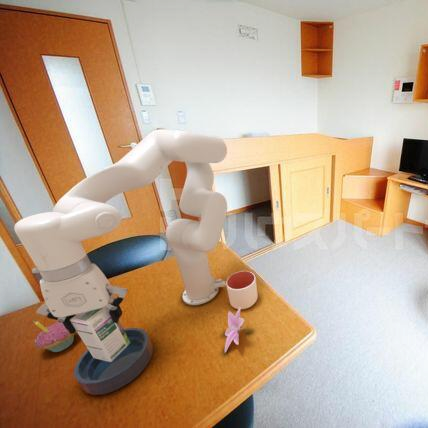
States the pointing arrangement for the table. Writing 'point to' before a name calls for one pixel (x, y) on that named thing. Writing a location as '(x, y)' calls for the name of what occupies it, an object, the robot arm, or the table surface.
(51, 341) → the cupcake
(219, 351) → the table surface
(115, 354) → the syrup box
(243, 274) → the cup
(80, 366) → the bowl
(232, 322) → the lily
